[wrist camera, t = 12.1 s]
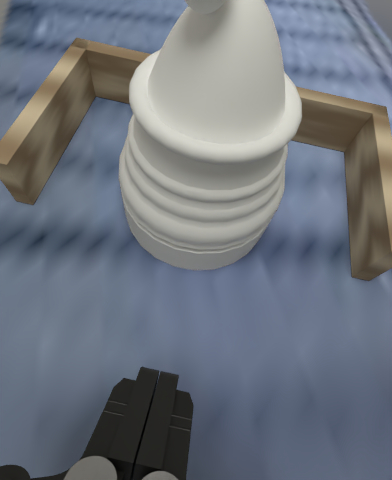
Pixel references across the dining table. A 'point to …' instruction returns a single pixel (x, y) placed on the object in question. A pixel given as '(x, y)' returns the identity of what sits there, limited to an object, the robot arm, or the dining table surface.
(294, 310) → the dining table surface
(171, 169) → the honey pot
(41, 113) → the oak bay
